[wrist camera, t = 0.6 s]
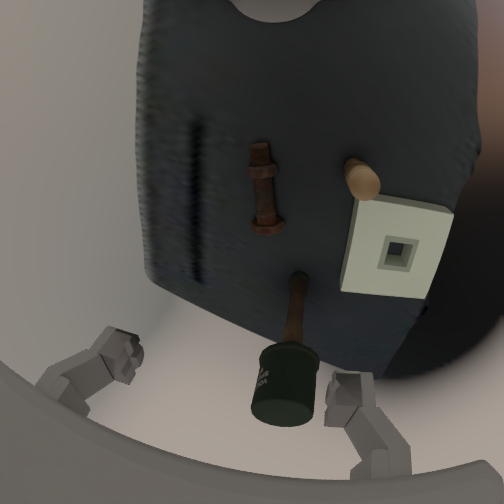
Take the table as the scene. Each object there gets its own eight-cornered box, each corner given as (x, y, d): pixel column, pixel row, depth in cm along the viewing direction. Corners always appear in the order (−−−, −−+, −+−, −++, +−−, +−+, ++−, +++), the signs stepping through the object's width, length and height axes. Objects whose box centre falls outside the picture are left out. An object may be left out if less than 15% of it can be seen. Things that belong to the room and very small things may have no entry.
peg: (342, 153, 42) (351, 167, 33) (367, 156, 42) (383, 172, 32) (339, 177, 45) (347, 199, 35) (363, 181, 44) (377, 203, 35)
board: (356, 190, 45) (359, 198, 42) (445, 206, 42) (454, 215, 39) (339, 278, 54) (340, 291, 51) (419, 286, 51) (424, 299, 48)
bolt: (267, 140, 46) (274, 221, 52) (238, 144, 45) (248, 227, 51) (281, 142, 41) (288, 232, 47) (249, 146, 39) (259, 239, 46)
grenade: (280, 256, 54) (249, 392, 29) (325, 264, 53) (325, 404, 28) (274, 291, 58) (244, 422, 33) (315, 298, 57) (307, 432, 32)
